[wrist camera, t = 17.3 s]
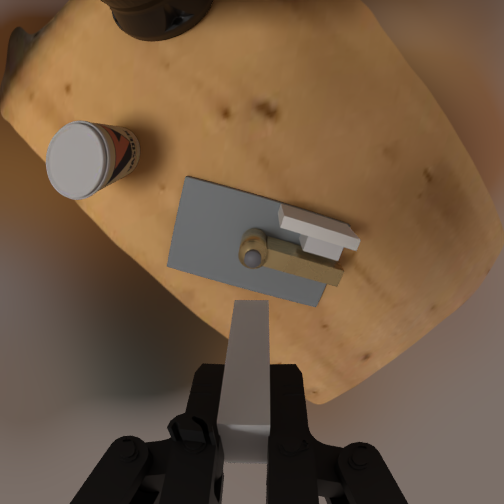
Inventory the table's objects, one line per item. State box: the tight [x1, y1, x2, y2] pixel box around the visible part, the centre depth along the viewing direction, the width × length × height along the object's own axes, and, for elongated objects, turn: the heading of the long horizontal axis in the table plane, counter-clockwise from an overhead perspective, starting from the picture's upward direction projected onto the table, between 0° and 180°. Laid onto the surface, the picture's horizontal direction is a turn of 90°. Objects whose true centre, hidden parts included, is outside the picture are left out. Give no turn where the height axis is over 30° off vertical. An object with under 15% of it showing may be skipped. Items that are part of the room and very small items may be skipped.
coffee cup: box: [46, 121, 140, 200], centre depth 34 cm, size 9×9×12 cm
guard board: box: [167, 176, 361, 307], centre depth 40 cm, size 14×24×8 cm, turn 74°
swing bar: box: [238, 228, 344, 287], centre depth 40 cm, size 14×4×6 cm, turn 74°
